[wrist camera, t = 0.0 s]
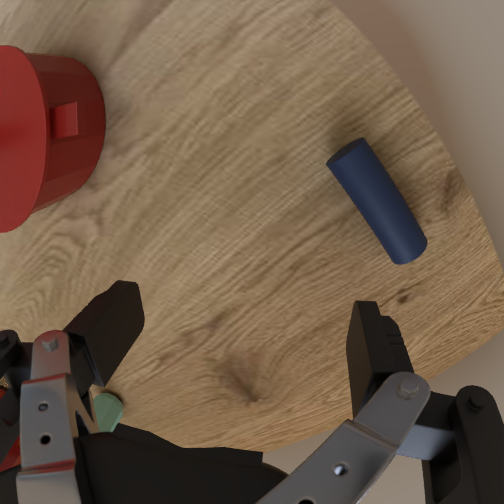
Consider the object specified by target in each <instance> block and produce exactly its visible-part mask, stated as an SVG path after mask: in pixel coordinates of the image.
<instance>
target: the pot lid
mask: <svg viewBox="0 0 504 504" xmlns="http://www.w3.org/2000/svg"><path fill="white" fill-rule="evenodd" d="M49 150H50V119H49V108H48V102H47V96H46V92H45V88H44V84H43V81H42V78H41V76H40V73H39V71H38V69H37V67H36V65H35V63H34V62H33V61H32V59H31V58H30V57H29V56H28V55H27V54H26V53H25V52H24V51H23V50H21V49H19V48H17V47H14V46H9V45H3V46H0V233H4V232H9V231H12V230H14V229H16V228H17V227H19V226H20V225H22V224H23V223H24V222H25V221H26V220H27V219H28V217H29V216H30V215H31V213H32V212H33V210H34V208H35V206H36V205H37V203H38V200H39V198H40V195H41V193H42V189H43V186H44V182H45V178H46V173H47V168H48V160H49Z"/></svg>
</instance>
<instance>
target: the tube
mask: <svg viewBox="0 0 504 504" xmlns="http://www.w3.org/2000/svg"><path fill="white" fill-rule="evenodd" d="M326 165H327V166H328V168H329V169H330V170H331V172H332V173H333V174H334V176H335V177H336V179H337V180H338V181H339V183H340V184H341V185H342V187H343V188H344V190H345V191H346V192H347V194H348V195H349V197H350V198H351V199H352V201H353V202H354V204H355V205H356V207H357V208H358V209H359V211H360V212H361V214H362V215H363V217H364V218H365V220H366V221H367V223H368V224H369V226H370V227H371V229H372V230H373V232H374V233H375V235H376V236H377V238H378V239H379V241H380V242H381V244H382V246H383V247H384V249H385V250H386V252H387V253H388V255H389V257H390V258H391V260H392V261H393V263H395V264H399V265H401V264H406V263H409V262H411V261H413V260H415V259H416V258H418V257H419V256H420V255H421V254H422V253H423V252H424V250H425V249H426V247H427V238H426V237H425V235H424V233H423V231H422V229H421V227H420V226H419V224H418V222H417V220H416V219H415V217H414V215H413V213H412V212H411V210H410V208H409V207H408V205H407V203H406V201H405V200H404V198H403V197H402V195H401V193H400V192H399V190H398V188H397V187H396V185H395V184H394V182H393V180H392V179H391V177H390V176H389V174H388V173H387V171H386V170H385V168H384V167H383V165H382V164H381V162H380V161H379V159H378V158H377V156H376V155H375V153H374V152H373V150H372V149H371V147H370V146H369V145H368V143H367V142H366V140H365V139H364V138H359V139H357V140H355V141H353V142H351V143H349V144H348V145H346V146H345V147H343V148H342V149H340V150H339V151H338V152H337V153H335V154H334V155H333V156H332V157H331V158H330V159H329V160H328V161H327V163H326Z"/></svg>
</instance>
